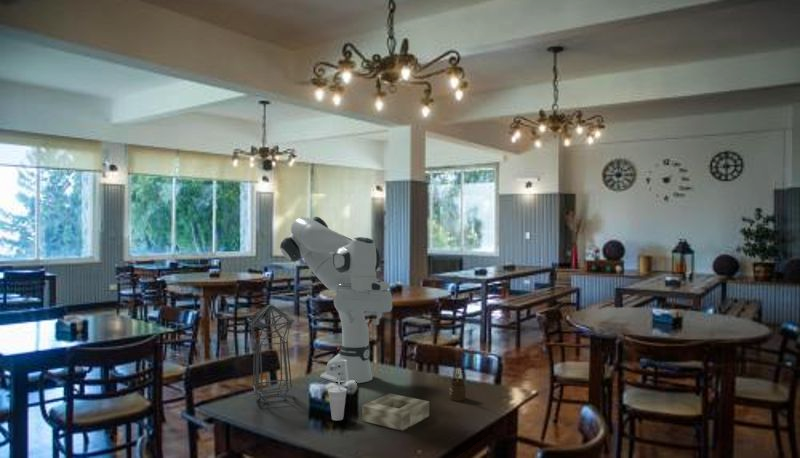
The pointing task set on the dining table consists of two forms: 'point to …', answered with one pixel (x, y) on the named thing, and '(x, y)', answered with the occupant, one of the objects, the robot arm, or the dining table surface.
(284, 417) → the dining table surface
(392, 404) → the socket block
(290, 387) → the geometric lantern
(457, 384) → the brown bottle
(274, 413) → the dining table surface
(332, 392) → the smoothie
